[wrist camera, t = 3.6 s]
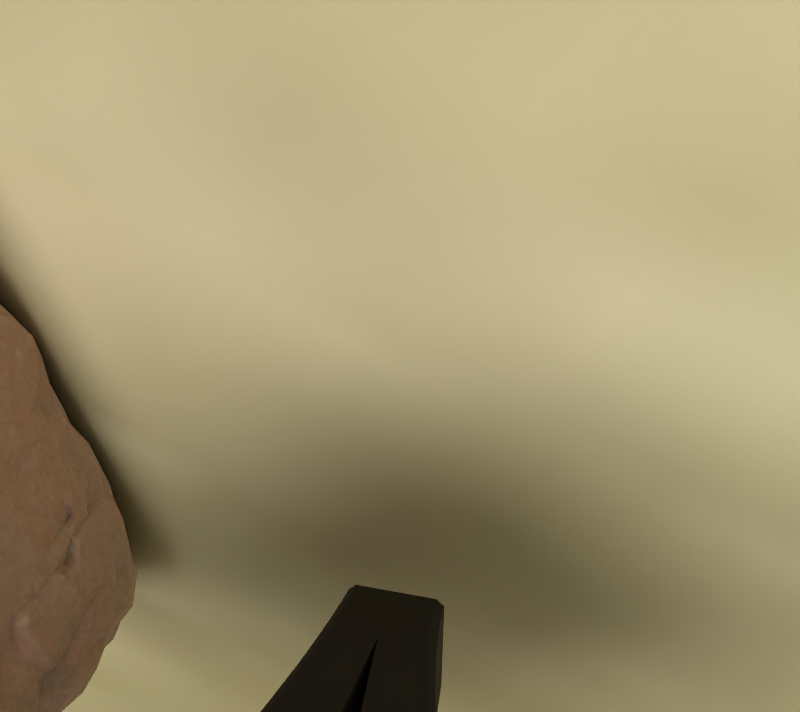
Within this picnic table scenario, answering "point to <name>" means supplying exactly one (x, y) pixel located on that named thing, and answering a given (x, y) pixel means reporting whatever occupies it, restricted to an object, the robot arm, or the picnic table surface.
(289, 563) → the picnic table surface
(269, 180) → the picnic table surface
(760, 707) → the picnic table surface
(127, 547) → the brown faceted rock
